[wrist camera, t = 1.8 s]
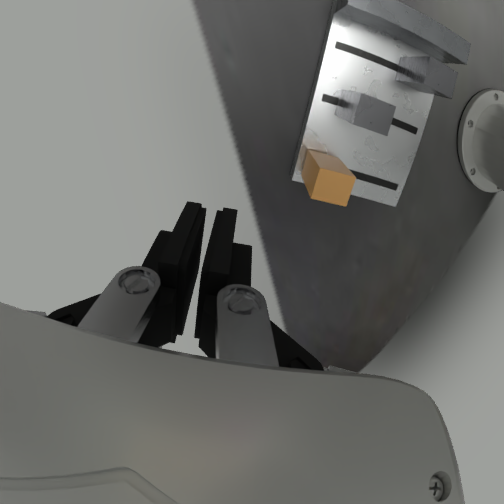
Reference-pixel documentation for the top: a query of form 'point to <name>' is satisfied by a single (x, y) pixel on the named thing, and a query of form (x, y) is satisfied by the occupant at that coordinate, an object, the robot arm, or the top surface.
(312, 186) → the cap
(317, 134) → the console
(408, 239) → the top surface
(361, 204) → the top surface
